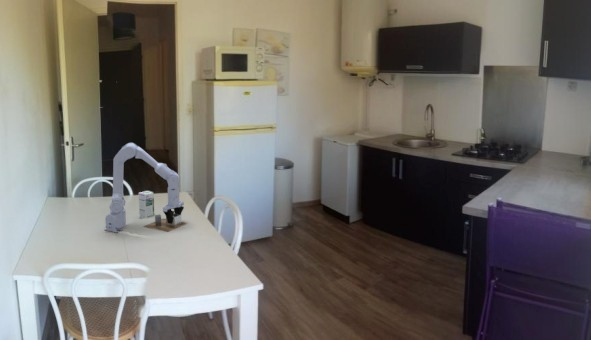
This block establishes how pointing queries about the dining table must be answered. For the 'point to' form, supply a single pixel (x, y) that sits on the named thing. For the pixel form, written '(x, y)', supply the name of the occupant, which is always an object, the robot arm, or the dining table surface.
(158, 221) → the dark grey block
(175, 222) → the cube with square recess
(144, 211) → the syrup box
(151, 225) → the board
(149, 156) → the robot arm
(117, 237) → the dining table surface
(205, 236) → the dining table surface
